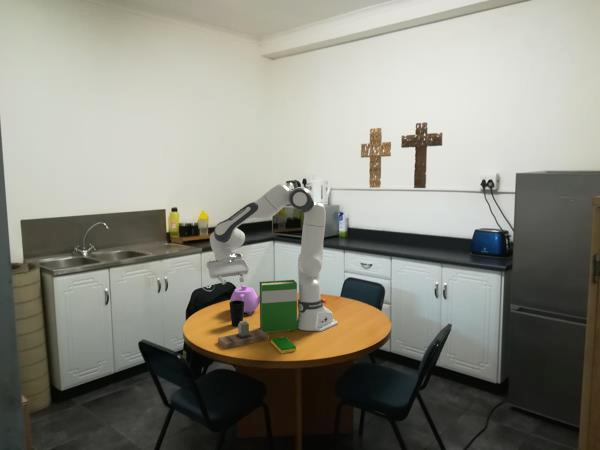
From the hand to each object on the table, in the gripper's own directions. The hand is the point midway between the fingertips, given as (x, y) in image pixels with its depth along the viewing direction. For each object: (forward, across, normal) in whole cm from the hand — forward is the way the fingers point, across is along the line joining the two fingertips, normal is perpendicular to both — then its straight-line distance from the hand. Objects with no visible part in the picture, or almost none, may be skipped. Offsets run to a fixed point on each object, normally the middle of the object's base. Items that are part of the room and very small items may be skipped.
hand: (233, 282), depth 224 cm
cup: (+11, +6, +25) cm, 28 cm away
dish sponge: (+38, +12, -2) cm, 40 cm away
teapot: (0, +20, +36) cm, 41 cm away
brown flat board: (+26, -1, +10) cm, 28 cm away
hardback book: (+23, +22, +14) cm, 34 cm away
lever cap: (+25, -1, +8) cm, 27 cm away
